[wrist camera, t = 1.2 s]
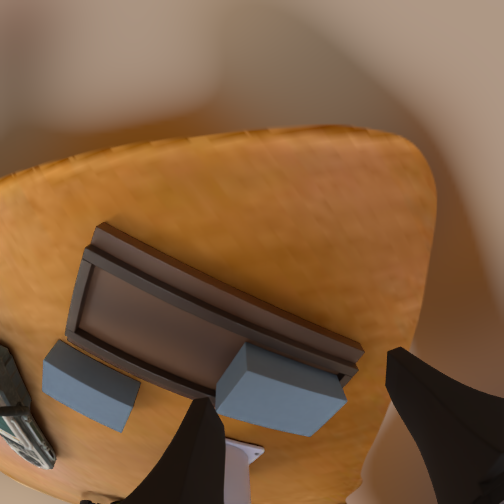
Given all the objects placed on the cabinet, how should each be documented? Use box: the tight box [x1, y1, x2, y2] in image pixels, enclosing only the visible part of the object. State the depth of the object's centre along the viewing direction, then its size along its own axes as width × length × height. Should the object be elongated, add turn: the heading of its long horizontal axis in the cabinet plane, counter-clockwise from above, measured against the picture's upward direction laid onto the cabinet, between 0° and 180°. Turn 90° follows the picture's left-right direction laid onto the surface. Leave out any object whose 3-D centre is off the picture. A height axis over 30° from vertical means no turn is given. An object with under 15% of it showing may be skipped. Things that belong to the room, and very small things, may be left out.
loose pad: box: [42, 340, 141, 433], centre depth 20 cm, size 5×8×3 cm, turn 61°
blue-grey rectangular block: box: [215, 342, 347, 437], centre depth 19 cm, size 5×8×3 cm, turn 61°
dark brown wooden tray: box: [65, 222, 365, 407], centre depth 20 cm, size 10×21×2 cm, turn 61°
